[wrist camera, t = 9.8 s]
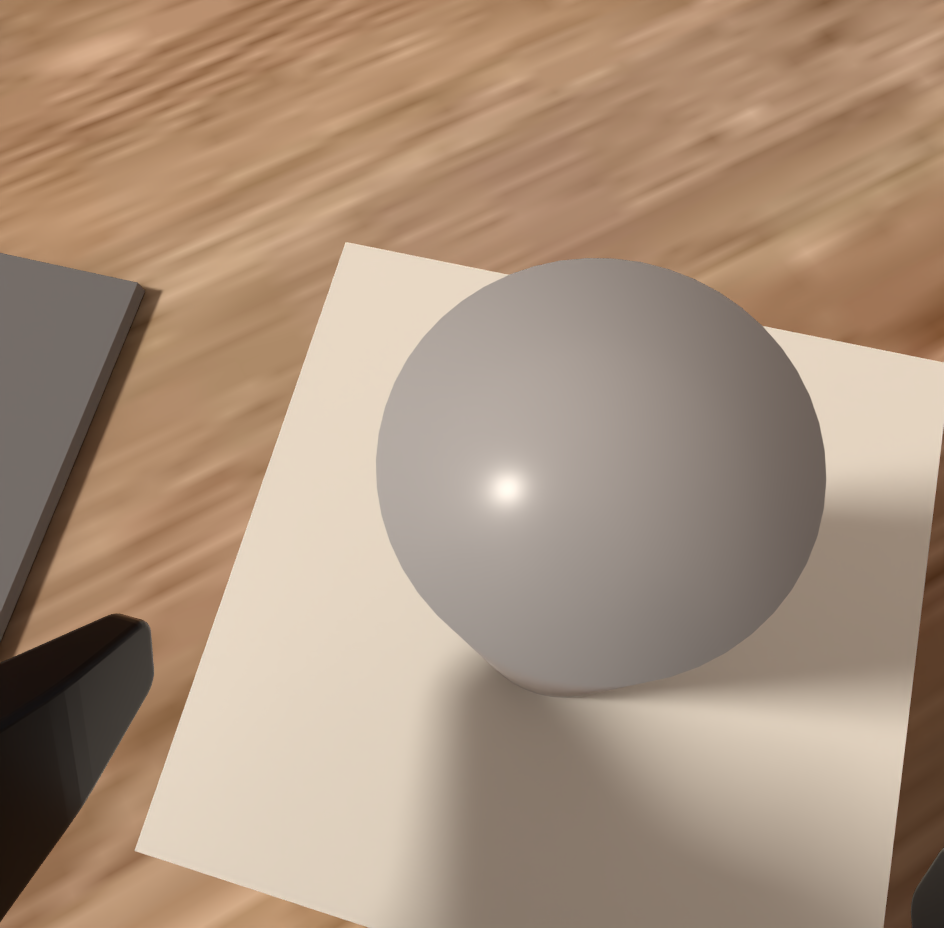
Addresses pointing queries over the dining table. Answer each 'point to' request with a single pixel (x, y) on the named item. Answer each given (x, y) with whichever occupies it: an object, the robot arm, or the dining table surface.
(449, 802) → the cream bowl cover
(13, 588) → the charcoal rubber mat
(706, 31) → the dining table surface
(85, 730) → the robot arm
